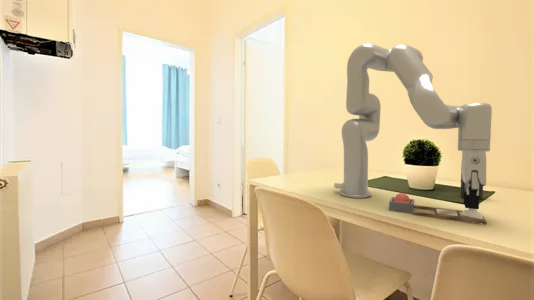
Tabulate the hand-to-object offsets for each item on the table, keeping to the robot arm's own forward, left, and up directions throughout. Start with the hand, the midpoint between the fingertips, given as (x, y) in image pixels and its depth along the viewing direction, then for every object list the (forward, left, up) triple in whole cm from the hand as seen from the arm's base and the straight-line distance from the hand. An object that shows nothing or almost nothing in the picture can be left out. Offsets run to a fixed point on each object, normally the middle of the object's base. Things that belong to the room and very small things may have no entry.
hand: (470, 206), depth 78 cm
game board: (-6, 0, -4) cm, 7 cm away
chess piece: (0, 0, -3) cm, 3 cm away
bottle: (+3, +29, -4) cm, 29 cm away
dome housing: (-18, 0, -4) cm, 19 cm away
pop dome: (-18, 0, -3) cm, 19 cm away
